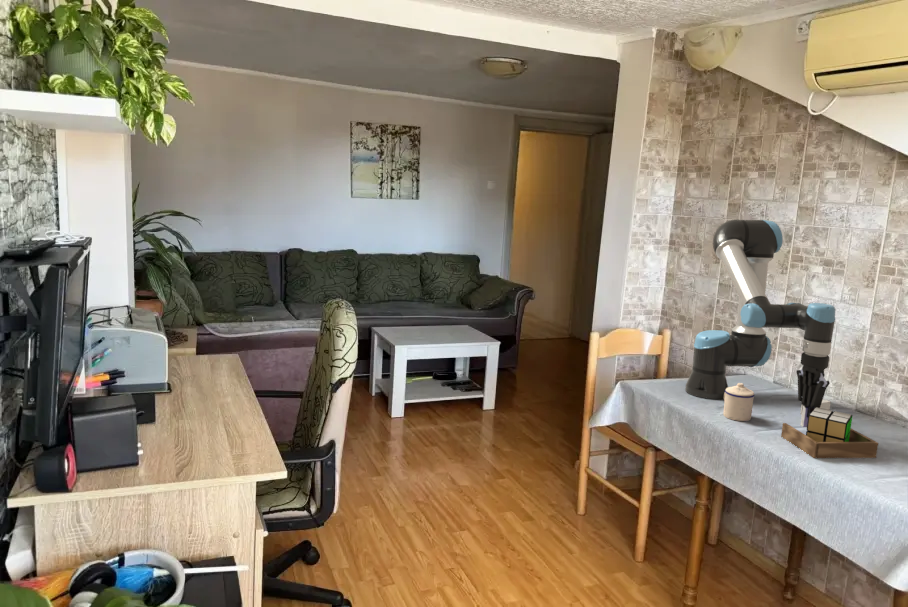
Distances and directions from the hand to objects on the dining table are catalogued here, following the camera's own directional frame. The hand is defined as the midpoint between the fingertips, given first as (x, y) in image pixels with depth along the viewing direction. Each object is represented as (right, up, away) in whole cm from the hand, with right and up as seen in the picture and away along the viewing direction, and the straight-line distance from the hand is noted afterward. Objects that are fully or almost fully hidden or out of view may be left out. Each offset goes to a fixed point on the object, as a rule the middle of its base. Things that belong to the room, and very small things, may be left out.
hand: (805, 426), depth 202 cm
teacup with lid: (-16, +1, +15) cm, 22 cm away
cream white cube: (+12, 0, +17) cm, 21 cm away
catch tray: (+1, -4, -10) cm, 11 cm away
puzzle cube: (+1, -4, -10) cm, 11 cm away
